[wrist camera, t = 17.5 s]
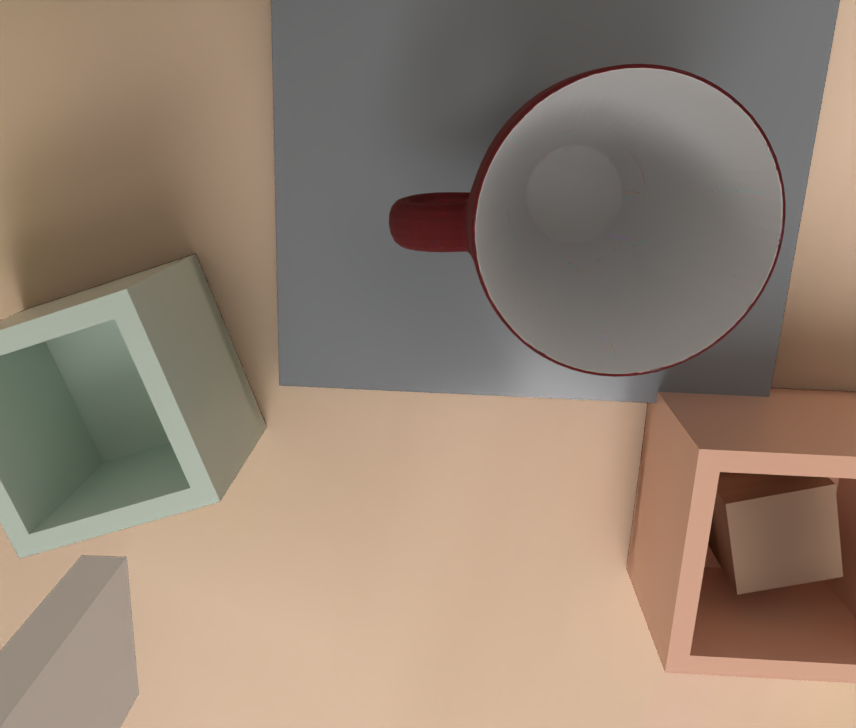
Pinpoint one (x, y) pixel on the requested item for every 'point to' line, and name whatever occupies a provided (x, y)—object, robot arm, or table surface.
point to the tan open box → (691, 522)
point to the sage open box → (119, 408)
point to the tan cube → (775, 530)
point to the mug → (616, 219)
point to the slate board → (460, 160)
